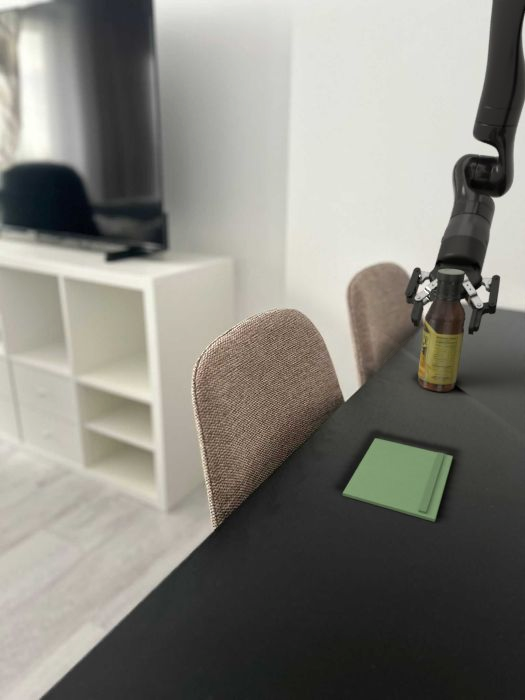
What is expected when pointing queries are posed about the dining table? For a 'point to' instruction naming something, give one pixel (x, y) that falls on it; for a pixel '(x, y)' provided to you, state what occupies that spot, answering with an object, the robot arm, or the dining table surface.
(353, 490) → the green notebook
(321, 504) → the dining table surface
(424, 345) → the sauce bottle
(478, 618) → the dining table surface
